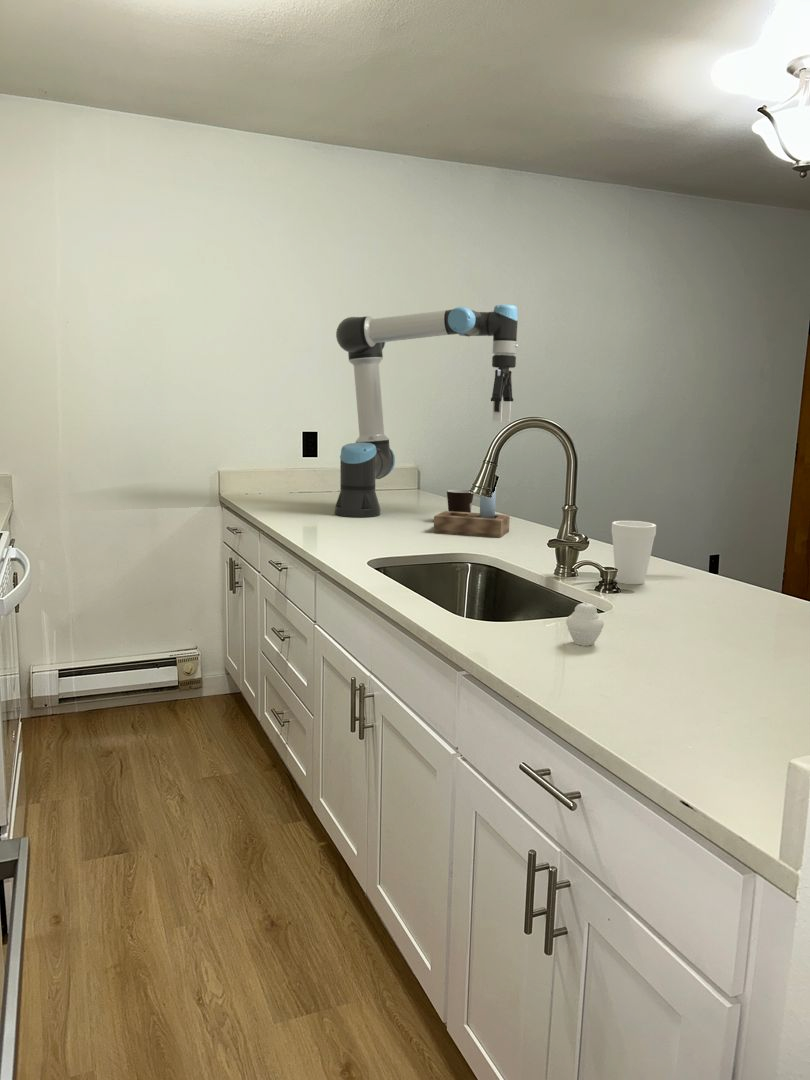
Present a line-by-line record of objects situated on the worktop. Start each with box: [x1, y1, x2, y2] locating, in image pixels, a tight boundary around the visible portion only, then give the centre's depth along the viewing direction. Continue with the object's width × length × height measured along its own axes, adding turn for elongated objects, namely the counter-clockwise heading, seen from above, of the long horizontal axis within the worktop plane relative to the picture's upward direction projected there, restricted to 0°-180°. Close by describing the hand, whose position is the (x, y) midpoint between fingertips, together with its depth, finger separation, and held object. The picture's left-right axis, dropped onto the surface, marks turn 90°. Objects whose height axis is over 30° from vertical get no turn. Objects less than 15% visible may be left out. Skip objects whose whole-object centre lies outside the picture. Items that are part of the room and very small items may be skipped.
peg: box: [479, 486, 497, 519], centre depth 249 cm, size 4×4×15 cm
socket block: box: [433, 510, 511, 539], centre depth 251 cm, size 20×12×5 cm, turn 72°
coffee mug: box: [446, 489, 474, 513], centre depth 271 cm, size 12×9×10 cm
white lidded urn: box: [565, 602, 605, 647], centre depth 141 cm, size 6×6×7 cm
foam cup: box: [610, 520, 657, 585], centre depth 189 cm, size 10×9×13 cm
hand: (501, 422), depth 275 cm, fingers open, 13 cm apart
